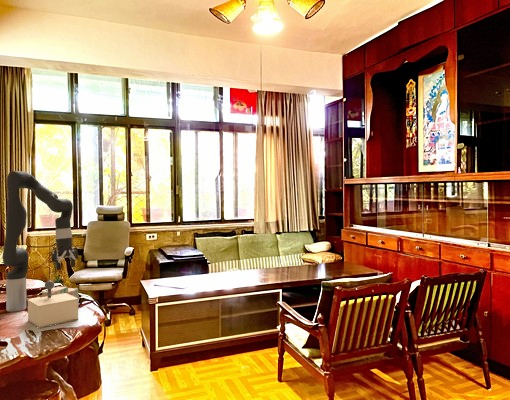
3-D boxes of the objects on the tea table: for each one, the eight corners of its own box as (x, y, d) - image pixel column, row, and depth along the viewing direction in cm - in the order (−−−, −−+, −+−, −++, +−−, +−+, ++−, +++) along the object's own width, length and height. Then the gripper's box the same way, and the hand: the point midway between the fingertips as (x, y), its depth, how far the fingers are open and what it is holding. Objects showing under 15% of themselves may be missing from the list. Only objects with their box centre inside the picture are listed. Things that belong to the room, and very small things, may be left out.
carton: (27, 320, 192) (27, 300, 192) (65, 313, 205) (65, 294, 205) (39, 328, 181) (39, 307, 181) (78, 319, 194) (78, 299, 194)
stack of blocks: (69, 303, 223) (69, 282, 223) (78, 304, 222) (78, 283, 222) (41, 315, 202) (41, 291, 202) (52, 315, 201) (52, 292, 201)
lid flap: (27, 300, 192) (27, 282, 192) (66, 294, 205) (66, 277, 205) (38, 307, 181) (38, 287, 181) (78, 299, 194) (78, 281, 194)
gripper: (70, 236, 208) (72, 266, 208) (46, 239, 195) (48, 271, 195) (80, 235, 205) (82, 266, 205) (57, 238, 192) (59, 271, 192)
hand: (66, 268), depth 200 cm, fingers open, 8 cm apart
